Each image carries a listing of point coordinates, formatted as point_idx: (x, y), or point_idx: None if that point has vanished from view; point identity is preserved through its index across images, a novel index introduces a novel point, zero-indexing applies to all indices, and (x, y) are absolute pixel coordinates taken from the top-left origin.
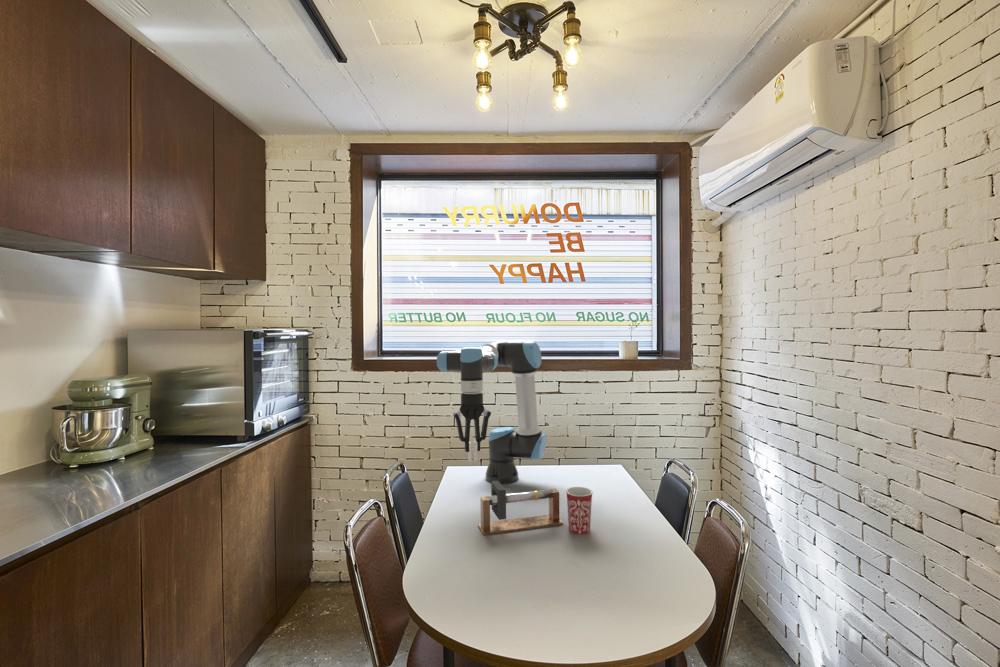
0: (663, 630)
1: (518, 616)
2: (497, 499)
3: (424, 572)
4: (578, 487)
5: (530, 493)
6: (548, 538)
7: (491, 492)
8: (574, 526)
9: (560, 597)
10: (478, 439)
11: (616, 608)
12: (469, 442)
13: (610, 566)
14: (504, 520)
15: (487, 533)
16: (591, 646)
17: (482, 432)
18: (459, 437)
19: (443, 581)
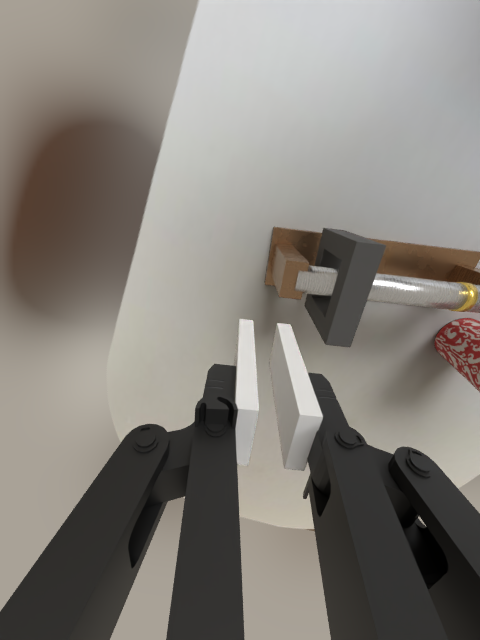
0: None
1: None
2: (320, 314)
3: (127, 367)
4: None
5: (442, 306)
6: (375, 345)
7: (340, 237)
8: (443, 356)
9: (282, 466)
10: (324, 498)
11: None
12: (237, 446)
13: (387, 442)
14: None
15: (274, 284)
16: (264, 514)
17: (449, 540)
18: (117, 464)
19: (154, 397)
